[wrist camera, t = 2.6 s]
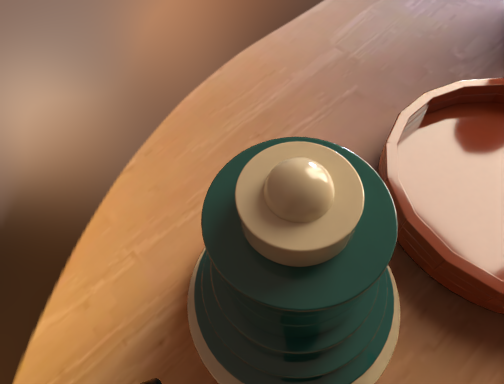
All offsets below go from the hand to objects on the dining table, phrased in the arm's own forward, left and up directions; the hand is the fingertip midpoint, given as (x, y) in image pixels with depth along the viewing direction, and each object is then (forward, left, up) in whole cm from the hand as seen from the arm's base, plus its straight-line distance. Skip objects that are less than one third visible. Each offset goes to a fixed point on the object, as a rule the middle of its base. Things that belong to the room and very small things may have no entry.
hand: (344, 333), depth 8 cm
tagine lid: (+4, 0, -11) cm, 12 cm away
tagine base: (+5, -15, -11) cm, 20 cm away
